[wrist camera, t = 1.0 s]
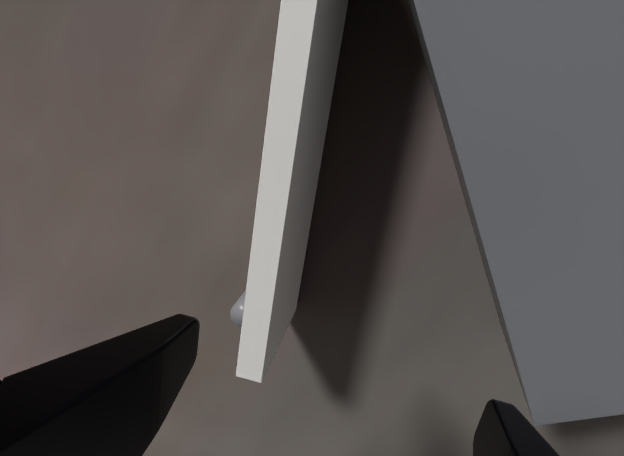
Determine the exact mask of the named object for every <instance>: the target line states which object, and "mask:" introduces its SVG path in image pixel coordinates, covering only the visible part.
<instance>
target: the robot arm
mask: <svg viewBox="0 0 624 456" xmlns="http://www.w3.org/2000/svg"><path fill="white" fill-rule="evenodd" d="M199 327H200V324H199V320H198V319H197V318H194V317H191V316H187V315H184V314H177V315H174V316H171V317H169V318H166V319H163V320H160V321H158V322H155V323H152V324H149V325H147V326H144V327H141V328H139V329H136V330H133V331H130V332H128V333H125V334H122V335H119V336H117V337H114V338H111V339H108V340H106V341H103V342H100V343H98V344H95V345H92V346H89V347H87V348H84V349H81V350H78V351H76V352H73V353H70V354H68V355H65V356H62V357H59V358H57V359H54V360H51V361H48V362H46V363H43V364H40V365H37V366H35V367H32V368H29V369H26V370H24V371H21V372H18V373H15V374H13V375H10V376H7V377H5V378H3V380H2V381H1V380H0V456H142V455H143V454H144V452H145V451H146V449H147V448H148V446H149V445H150V443H151V442H152V440H153V439H154V437H155V435H156V434H157V432H158V431H159V429H160V427H161V425H162V423H163V422H164V420H165V418H166V416H167V414H168V412H169V410H170V408H171V407H172V405H173V403H174V401H175V399H176V397H177V395H178V393H179V391H180V389H181V388H182V386H183V384H184V382H185V380H186V378H187V376H188V374H189V372H190V370H191V368H192V367H193V365H194V362H195V359H196V356H197V349H198V338H199ZM473 456H559V454H558V453H557V452H556V451H555V450H554V449H553V448H552V447H551V446H550V445H549V443H548V442H547V441H546V440H545V439H544V438H543V437H542V436H541V435H540V434H539V432H538V431H537V430H536V429H535V428H534V427H533V426H532V425H531V424H530V422H529V421H528V420H527V419H526V418H525V417H524V416H523V415H522V414H521V413H520V411H519V410H518V409H517V408H516V407H515V406H514V405H512V404H509V403H505V402H502V401H498V400H494V399H492V400H489V401H488V403H487V404H486V406H485V409H484V411H483V414H482V416H481V419H480V421H479V424H478V426H477V429H476V432H475V435H474V441H473Z"/></svg>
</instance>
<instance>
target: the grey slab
mask: <svg viewBox="0 0 624 456" xmlns="http://www.w3.org/2000/svg"><path fill="white" fill-rule="evenodd" d="M408 3H409V7H410V10H411V14H412V17H413V21H414V24H415V28H416V31H417V35H418V38H419V41H420V45H421V48H422V52H423V55H424V59H425V62H426V66H427V69H428V73H429V76H430V80H431V83H432V87H433V90H434V94H435V97H436V101H437V104H438V108H439V111H440V115H441V118H442V121H443V125H444V128H445V132H446V135H447V139H448V142H449V146H450V149H451V153H452V156H453V160H454V163H455V167H456V170H457V174H458V177H459V181H460V184H461V188H462V191H463V194H464V198H465V201H466V205H467V208H468V212H469V215H470V219H471V222H472V226H473V229H474V233H475V236H476V240H477V243H478V247H479V250H480V254H481V257H482V261H483V264H484V268H485V271H486V274H487V278H488V281H489V285H490V288H491V292H492V295H493V299H494V302H495V306H496V309H497V313H498V316H499V320H500V323H501V327H502V330H503V333H504V336H505V339H506V342H507V345H508V348H509V351H510V354H511V357H512V360H513V363H514V366H515V369H516V372H517V375H518V378H519V381H520V384H521V387H522V390H523V393H524V396H525V399H526V402H527V405H528V408H529V411H530V414H531V417H532V420H533V423H534V426H538V425H546V424H553V423H561V422H568V421H576V420H584V419H591V418H599V417H607V416H614V415H622V414H624V0H408Z"/></svg>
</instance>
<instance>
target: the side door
mask: <svg viewBox="0 0 624 456" xmlns="http://www.w3.org/2000/svg"><path fill="white" fill-rule="evenodd" d="M347 6H348V0H281V6H280V14H279V22H278V30H277V39H276V47H275V55H274V64H273V72H272V80H271V88H270V97H269V105H268V113H267V121H266V130H265V138H264V146H263V155H262V163H261V171H260V179H259V188H258V196H257V204H256V212H255V221H254V229H253V237H252V246H251V254H250V262H249V270H248V279H247V287H246V290H245V291H244V293H243V294H242V295H241V297H240V298H239V299H238V301H237V302H236V303H235V305H234V306H233V307H232V309H231V311H230V317H231V320H232V321H233V322H234V323H235V324H236V325H238V326H240V327H242V328H241V337H240V345H239V353H238V361H237V370H236V376H238V377H242V378H245V379H249V380H252V381H256V382H259V383H261V382H262V380H263V378H264V376H265V374H266V371H267V369H268V367H269V365H270V363H271V361H272V359H273V357H274V355H275V353H276V351H277V349H278V347H279V344H280V342H281V340H282V338H283V336H284V334H285V332H286V330H287V328H288V326H289V324H290V322H291V320H292V317H293V315H294V313H295V311H296V307H297V301H298V295H299V290H300V284H301V278H302V272H303V266H304V260H305V254H306V248H307V242H308V236H309V231H310V225H311V219H312V213H313V207H314V201H315V195H316V189H317V183H318V177H319V172H320V166H321V160H322V154H323V148H324V142H325V136H326V130H327V124H328V118H329V113H330V107H331V101H332V95H333V89H334V83H335V77H336V71H337V65H338V59H339V54H340V48H341V42H342V36H343V30H344V24H345V18H346V12H347Z"/></svg>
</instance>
